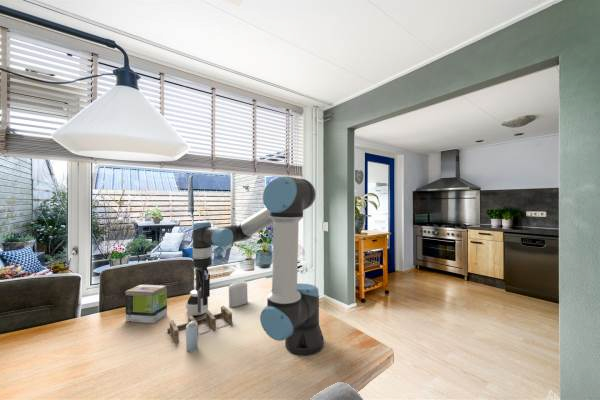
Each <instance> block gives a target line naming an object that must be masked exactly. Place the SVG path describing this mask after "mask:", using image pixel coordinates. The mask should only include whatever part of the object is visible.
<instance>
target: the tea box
mask: <svg viewBox="0 0 600 400" xmlns="http://www.w3.org/2000/svg"><path fill="white" fill-rule="evenodd" d="M167 289H168V288H167V285H161V284H160V285H159V284H139V285H136V286H134V287H132V288H130V289H127V290H125V291H124V294H125V295H124V299H125V303H124V304H125V322H129V321H131V323H133V322H134V323H141V324H142V323H143V324H155V323H156V322H158V321H159V320H161V319H162V318H164V317H165V316H167V315H168V293H167V292H168V290H167Z"/></svg>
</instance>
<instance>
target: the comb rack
mask: <svg viewBox="0 0 600 400" xmlns="http://www.w3.org/2000/svg"><path fill="white" fill-rule="evenodd" d="M220 318H222V319H223V321H224V322H225V323H226V324H224V325H221V326H218V327H217V321H216V320H217V319H220ZM187 319H188V321H187V322H185V323H182V324H179V325H177V324H176V322H175V320H169V328H167V332H166V333H167V334H170V336H171V339H172V338H173V339H172V340H173V342H174V344H177V343H180V340H179V338H180V337H179V336H180V335H179V334H180V330H184V329H186V325H188V323H189V322H191V321H195V323H197V334H198V335H200V336H201V335H203V334H206V333H209V332H212V331H216V330H218V329H221V328H225V327H228V326H230V325H231V326H232V325H233V313H232V312H231V311H230V310H229V309H228V308H227V307H226V306H225V305H223V306H220V313H215V314H212V312H211V311H209V309H208V311H207V312H205V315H204V317H203V318H202V317H201V318H199V319H195V318H193V316H192V315H190V316H189V315H187ZM203 323H206V324H207V326H208V327H209V328H210V329H209V330H206V331H203V332H199V324H203Z"/></svg>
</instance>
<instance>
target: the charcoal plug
mask: <svg viewBox="0 0 600 400" xmlns="http://www.w3.org/2000/svg"><path fill="white" fill-rule="evenodd" d="M200 297H202V294H201V287H200V289H199V290H198V312H199V313H201V299H200Z"/></svg>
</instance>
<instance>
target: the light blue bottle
mask: <svg viewBox="0 0 600 400" xmlns="http://www.w3.org/2000/svg"><path fill="white" fill-rule="evenodd" d="M187 323H188V322H187ZM198 336H199V333H198V334H197V323H195V321H191V322H189V323H188V325H186V328H185V343H186V344H185V345H186V349H185V350H186V352H188V351H192V352H195V351H196V350H198V345H199V342H198V339H199V338H198ZM194 350H195V351H194Z"/></svg>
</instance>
